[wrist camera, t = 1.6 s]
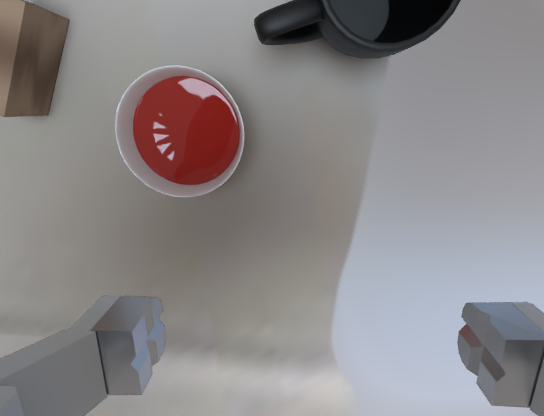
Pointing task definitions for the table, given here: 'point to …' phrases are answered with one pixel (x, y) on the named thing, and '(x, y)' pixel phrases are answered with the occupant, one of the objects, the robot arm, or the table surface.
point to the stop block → (28, 57)
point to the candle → (179, 131)
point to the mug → (355, 24)
